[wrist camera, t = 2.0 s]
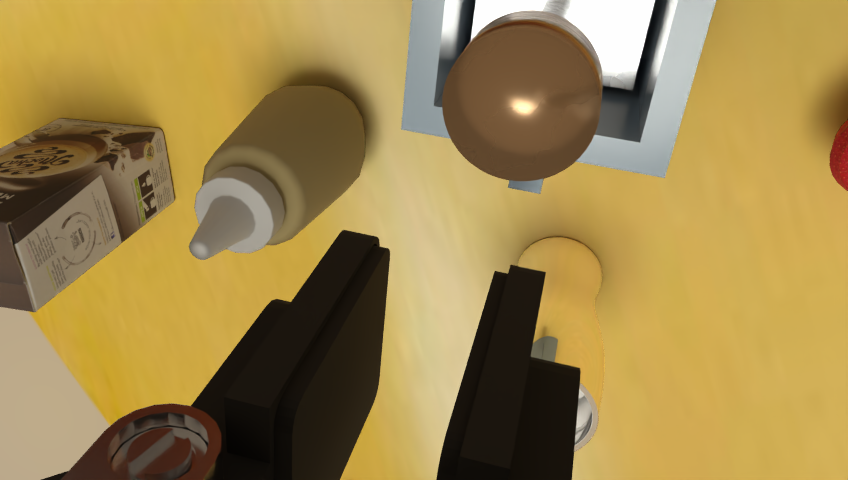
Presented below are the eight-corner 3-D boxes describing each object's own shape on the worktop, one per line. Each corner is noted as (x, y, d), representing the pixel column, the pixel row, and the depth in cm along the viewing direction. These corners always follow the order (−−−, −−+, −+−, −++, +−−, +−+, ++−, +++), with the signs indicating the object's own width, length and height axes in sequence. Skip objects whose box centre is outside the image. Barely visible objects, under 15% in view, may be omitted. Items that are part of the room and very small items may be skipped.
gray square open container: (712, -141, 39) (752, -126, 26) (643, 122, 46) (648, 233, 34) (489, -167, 41) (426, -165, 28) (457, 89, 48) (396, 183, 36)
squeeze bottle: (376, 187, 53) (276, 332, 38) (272, 166, 55) (134, 298, 39) (385, 79, 49) (276, 193, 34) (271, 59, 50) (117, 160, 35)
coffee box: (163, 124, 55) (9, 223, 41) (177, 202, 58) (38, 317, 44) (56, 114, 57) (-124, 205, 43) (76, 190, 60) (-87, 297, 46)
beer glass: (497, 242, 53) (457, 373, 40) (593, 220, 50) (581, 352, 38) (527, 321, 56) (498, 467, 43) (620, 303, 53) (617, 453, 40)
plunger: (676, -95, 33) (719, -27, 18) (632, 85, 37) (635, 266, 22) (493, -118, 34) (384, -73, 19) (470, 58, 39) (366, 211, 23)
